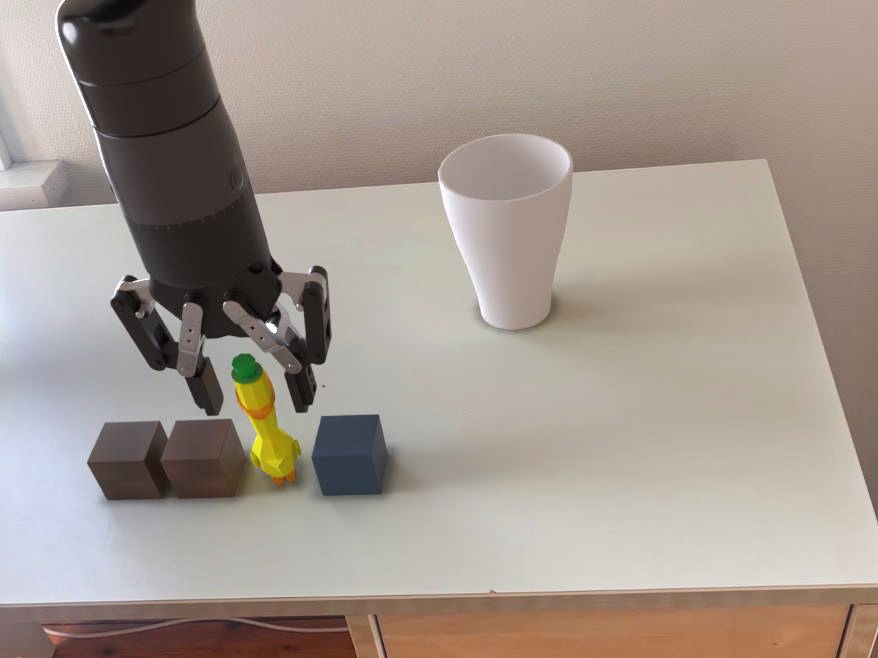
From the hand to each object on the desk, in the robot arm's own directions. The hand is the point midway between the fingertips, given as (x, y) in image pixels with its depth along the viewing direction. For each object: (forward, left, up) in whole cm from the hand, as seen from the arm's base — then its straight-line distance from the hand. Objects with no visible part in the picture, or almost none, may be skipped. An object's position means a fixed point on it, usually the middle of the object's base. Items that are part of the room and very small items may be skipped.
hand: (259, 406), depth 69 cm
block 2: (-6, 0, -7) cm, 9 cm away
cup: (+17, +20, -8) cm, 27 cm away
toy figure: (0, 0, -8) cm, 8 cm away
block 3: (+6, 0, -7) cm, 9 cm away
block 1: (-11, 0, -7) cm, 13 cm away
